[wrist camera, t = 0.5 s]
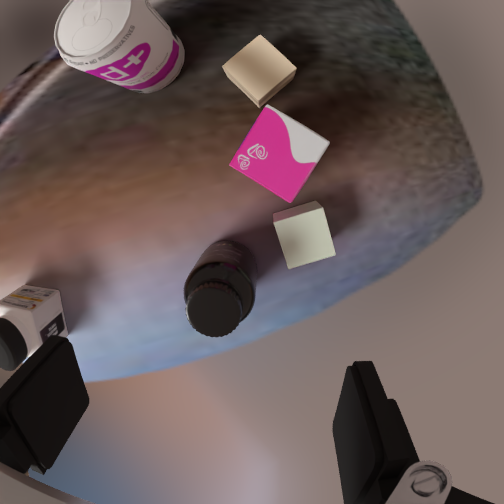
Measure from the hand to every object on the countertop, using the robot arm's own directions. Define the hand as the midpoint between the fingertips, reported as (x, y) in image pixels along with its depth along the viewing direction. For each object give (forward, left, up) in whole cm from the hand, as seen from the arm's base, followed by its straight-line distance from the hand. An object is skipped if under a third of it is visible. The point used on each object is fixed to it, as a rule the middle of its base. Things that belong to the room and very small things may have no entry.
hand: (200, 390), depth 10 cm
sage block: (-5, +4, -28) cm, 29 cm away
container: (+34, -3, -28) cm, 44 cm away
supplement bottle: (+5, +4, -28) cm, 29 cm away
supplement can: (+1, -22, -28) cm, 36 cm away
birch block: (-9, -13, -28) cm, 32 cm away
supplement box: (-6, -5, -28) cm, 29 cm away
